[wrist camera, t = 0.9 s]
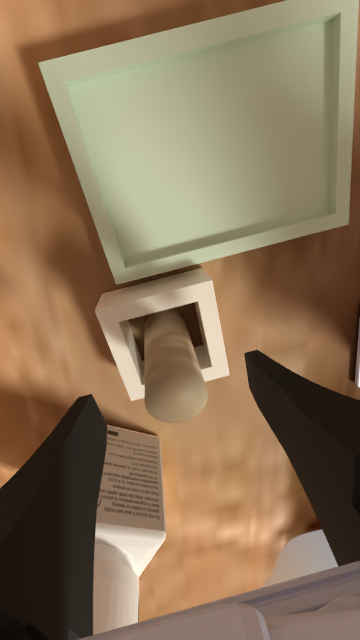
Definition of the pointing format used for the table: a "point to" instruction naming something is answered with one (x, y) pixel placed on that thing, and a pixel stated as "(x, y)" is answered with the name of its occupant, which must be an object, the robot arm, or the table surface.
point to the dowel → (171, 369)
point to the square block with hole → (153, 299)
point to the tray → (213, 133)
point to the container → (126, 525)
